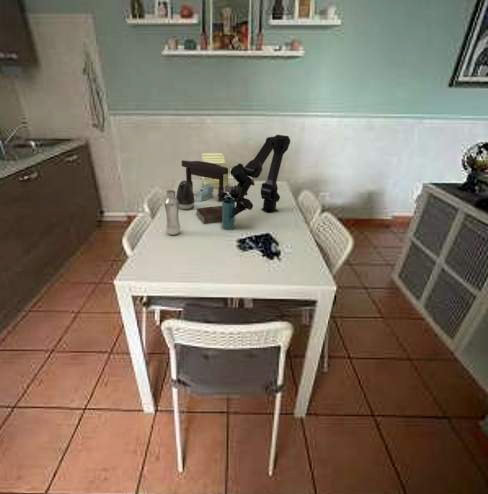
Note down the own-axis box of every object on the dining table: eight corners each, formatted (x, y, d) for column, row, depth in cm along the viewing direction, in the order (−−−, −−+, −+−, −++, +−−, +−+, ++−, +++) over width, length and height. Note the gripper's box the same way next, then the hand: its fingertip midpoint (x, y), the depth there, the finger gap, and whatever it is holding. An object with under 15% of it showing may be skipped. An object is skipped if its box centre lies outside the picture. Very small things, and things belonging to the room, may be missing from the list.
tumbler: (225, 224, 161) (226, 198, 155) (236, 226, 159) (237, 201, 152) (219, 228, 157) (219, 202, 151) (230, 230, 154) (230, 204, 148)
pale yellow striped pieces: (229, 190, 210) (230, 162, 201) (205, 191, 208) (204, 163, 199) (224, 178, 236) (224, 153, 227) (202, 178, 234) (201, 153, 225)
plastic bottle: (183, 231, 153) (181, 190, 143) (176, 237, 147) (173, 194, 137) (171, 229, 154) (167, 188, 145) (164, 235, 149) (160, 192, 139)
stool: (220, 169, 172) (172, 161, 188) (220, 207, 182) (174, 196, 198) (235, 164, 184) (189, 156, 199) (234, 199, 194) (190, 190, 209)
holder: (221, 211, 177) (221, 205, 176) (231, 220, 165) (231, 214, 164) (196, 214, 173) (195, 208, 171) (203, 224, 161) (203, 218, 159)
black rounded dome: (172, 209, 178) (171, 182, 171) (182, 203, 187) (180, 177, 179) (189, 212, 175) (188, 184, 168) (198, 206, 183) (197, 179, 176)
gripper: (220, 174, 155) (203, 201, 153) (250, 182, 144) (233, 212, 142) (231, 187, 163) (215, 213, 162) (260, 195, 152) (244, 223, 151)
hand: (226, 215), depth 154 cm, fingers closed on tumbler, 6 cm apart
